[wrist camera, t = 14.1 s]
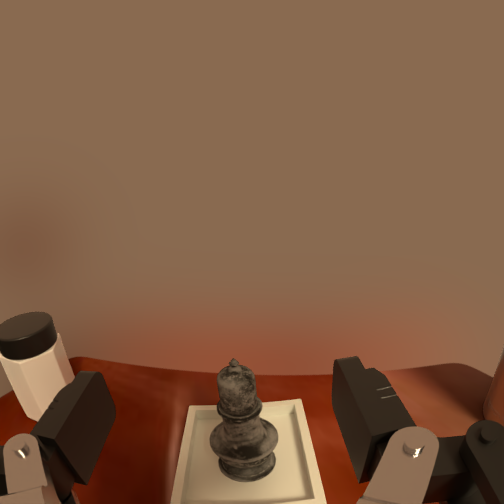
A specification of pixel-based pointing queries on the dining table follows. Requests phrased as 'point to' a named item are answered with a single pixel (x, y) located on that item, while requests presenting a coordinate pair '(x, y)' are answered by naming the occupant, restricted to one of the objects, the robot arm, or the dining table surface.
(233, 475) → the salt shaker
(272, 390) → the dining table surface
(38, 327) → the jar
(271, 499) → the tray
